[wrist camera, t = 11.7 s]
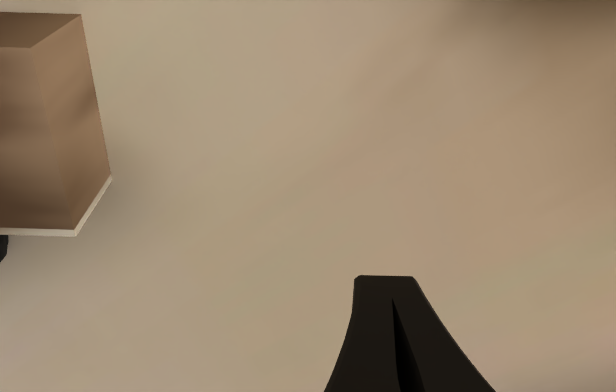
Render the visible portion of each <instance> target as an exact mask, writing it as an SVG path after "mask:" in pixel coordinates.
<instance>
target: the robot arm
mask: <svg viewBox="0 0 616 392" xmlns="http://www.w3.org/2000/svg"><path fill="white" fill-rule="evenodd" d="M324 392H496V391H495V390H494V389H493V388H492V387H491V386H490V385H489V383H488V382H487V381H486V380H485V379H484V378H483V376H482V375H481V374H480V373H479V371H478V370H477V369H476V368H475V367H474V365H473V364H472V363H471V362H470V360H469V359H468V358H467V356H466V355H465V354H464V353H463V351H462V350H461V349H460V347H459V346H458V344H457V343H456V342H455V340H454V339H453V337H452V336H451V335H450V333H449V332H448V331H447V329H446V328H445V326H444V325H443V323H442V322H441V320H440V319H439V317H438V316H437V314H436V313H435V311H434V310H433V308H432V306H431V305H430V303H429V302H428V300H427V298H426V297H425V295H424V293H423V291H422V290H421V288H420V286H419V284H418V283H417V281H416V280H415V279H414V278H413V277H412V276H370V275H359V276H358V277H357V278H355V279H354V291H353V305H352V314H351V318H350V322H349V326H348V329H347V333H346V336H345V340H344V343H343V346H342V348H341V351H340V354H339V357H338V359H337V362H336V365H335V367H334V370H333V372H332V375H331V377H330V379H329V382H328V384H327V386H326V388H325V391H324Z"/></svg>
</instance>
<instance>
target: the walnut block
mask: <svg viewBox="0 0 616 392" xmlns="http://www.w3.org/2000/svg"><path fill="white" fill-rule="evenodd" d="M111 181H112V178H111V173H110V168H109V162H108V157H107V151H106V146H105V141H104V135H103V130H102V125H101V119H100V114H99V109H98V103H97V98H96V92H95V87H94V82H93V76H92V71H91V66H90V60H89V55H88V49H87V44H86V39H85V33H84V28H83V23H82V17H81V14H50V13H15V12H0V235H30V236H62V237H76V236H77V234H78V233H79V231H80V229H81V228H82V226H83V225H84V223H85V222H86V220H87V219H88V217H89V215H90V214H91V212H92V211H93V209H94V208H95V206H96V205H97V203H98V201H99V200H100V198H101V197H102V195H103V194H104V192H105V191H106V189H107V187H108V186H109V184H110V183H111Z"/></svg>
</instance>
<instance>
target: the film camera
mask: <svg viewBox="0 0 616 392" xmlns="http://www.w3.org/2000/svg"><path fill="white" fill-rule="evenodd" d="M7 245H8V235H0V262H1V261H2V260H3V259H4V257H5V256H6V254H7Z"/></svg>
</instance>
